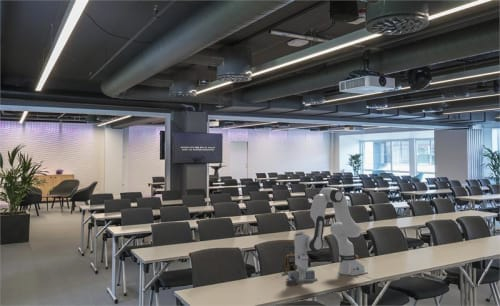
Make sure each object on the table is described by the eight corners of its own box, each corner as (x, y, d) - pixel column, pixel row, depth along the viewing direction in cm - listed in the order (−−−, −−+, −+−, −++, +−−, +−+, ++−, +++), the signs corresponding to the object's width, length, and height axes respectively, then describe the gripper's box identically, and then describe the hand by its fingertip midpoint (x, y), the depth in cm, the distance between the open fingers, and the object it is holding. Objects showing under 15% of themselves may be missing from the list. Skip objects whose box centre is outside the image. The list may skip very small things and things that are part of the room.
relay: (295, 283, 282) (295, 278, 282) (296, 285, 278) (296, 279, 278) (287, 284, 282) (287, 278, 282) (288, 285, 278) (288, 279, 278)
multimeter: (286, 274, 307) (284, 249, 308) (282, 271, 317) (281, 246, 318) (303, 273, 310) (302, 247, 311) (299, 270, 320) (298, 245, 321)
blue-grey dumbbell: (314, 278, 294) (313, 268, 294) (317, 280, 287) (317, 270, 288) (286, 280, 290) (285, 270, 290) (288, 283, 283) (288, 273, 283)
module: (297, 276, 290) (297, 267, 291) (304, 276, 291) (303, 266, 292) (299, 278, 286) (299, 268, 286) (305, 277, 287) (305, 267, 287)
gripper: (292, 252, 299) (293, 270, 298) (300, 257, 279) (301, 277, 278) (300, 251, 300) (301, 269, 300) (309, 257, 280) (310, 276, 279)
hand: (301, 273), depth 289 cm, fingers closed on module, 4 cm apart
